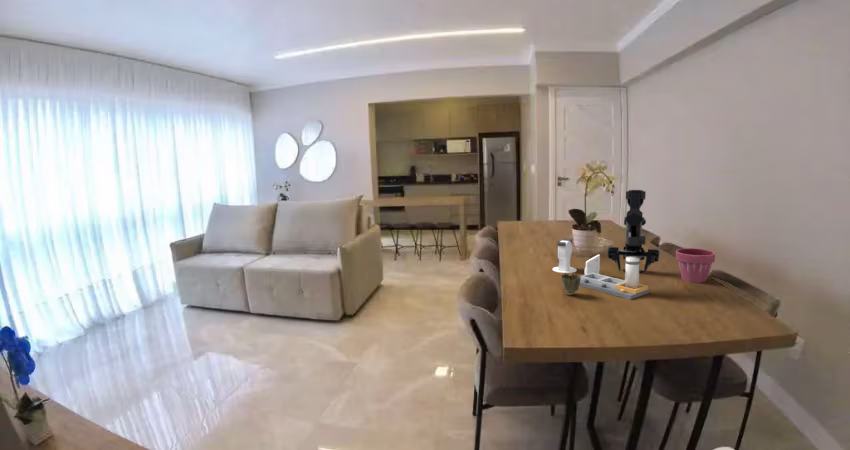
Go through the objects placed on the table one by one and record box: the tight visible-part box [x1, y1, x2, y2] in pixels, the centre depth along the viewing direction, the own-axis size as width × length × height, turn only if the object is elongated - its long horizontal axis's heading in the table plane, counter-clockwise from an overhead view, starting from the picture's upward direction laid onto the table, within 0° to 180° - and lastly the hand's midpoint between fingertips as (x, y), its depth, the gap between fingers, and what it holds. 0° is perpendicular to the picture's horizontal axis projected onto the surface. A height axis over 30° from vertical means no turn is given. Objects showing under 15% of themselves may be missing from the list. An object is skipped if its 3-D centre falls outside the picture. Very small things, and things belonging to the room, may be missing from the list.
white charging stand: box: [552, 238, 577, 274], centre depth 203 cm, size 12×11×15 cm
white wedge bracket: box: [583, 254, 601, 275], centre depth 193 cm, size 4×10×9 cm, turn 84°
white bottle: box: [624, 257, 641, 289], centre depth 166 cm, size 5×5×13 cm
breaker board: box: [579, 273, 650, 301], centre depth 173 cm, size 13×26×3 cm, turn 32°
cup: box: [560, 273, 582, 296], centre depth 167 cm, size 8×7×8 cm
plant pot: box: [675, 247, 716, 284], centre depth 180 cm, size 14×14×13 cm
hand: (632, 271), depth 165 cm, fingers open, 9 cm apart
